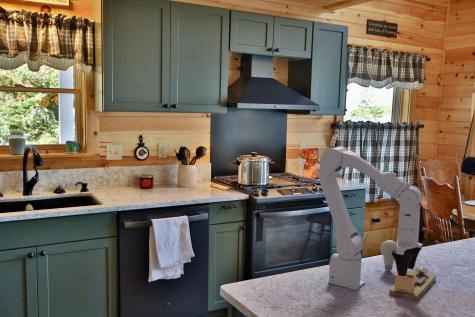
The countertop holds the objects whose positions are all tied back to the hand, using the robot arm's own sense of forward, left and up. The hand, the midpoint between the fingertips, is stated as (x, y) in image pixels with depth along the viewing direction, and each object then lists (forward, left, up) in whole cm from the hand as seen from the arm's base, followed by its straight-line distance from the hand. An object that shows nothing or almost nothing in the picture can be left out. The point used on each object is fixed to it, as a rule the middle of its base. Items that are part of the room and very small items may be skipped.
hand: (405, 272), depth 134 cm
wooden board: (0, +9, -8) cm, 12 cm away
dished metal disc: (0, +18, -6) cm, 19 cm away
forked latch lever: (0, +6, -6) cm, 9 cm away
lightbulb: (-11, +18, -8) cm, 23 cm away
